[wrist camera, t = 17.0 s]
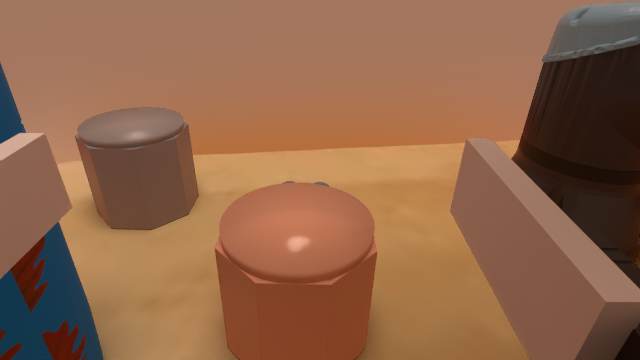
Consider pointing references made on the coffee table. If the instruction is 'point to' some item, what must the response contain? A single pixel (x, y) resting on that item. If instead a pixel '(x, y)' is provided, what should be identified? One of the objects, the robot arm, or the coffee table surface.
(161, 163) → the brown octagonal jar
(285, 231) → the octagonal lidded canister
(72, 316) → the thermos
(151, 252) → the coffee table surface
